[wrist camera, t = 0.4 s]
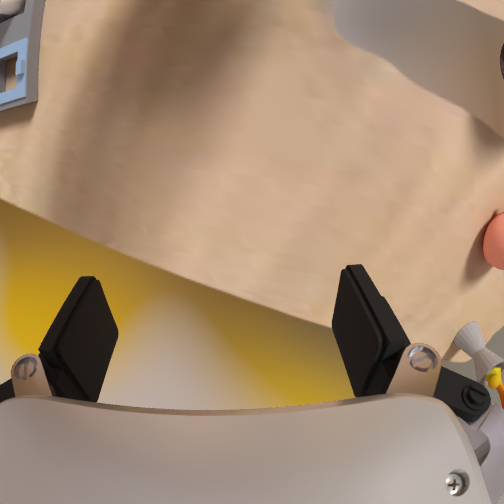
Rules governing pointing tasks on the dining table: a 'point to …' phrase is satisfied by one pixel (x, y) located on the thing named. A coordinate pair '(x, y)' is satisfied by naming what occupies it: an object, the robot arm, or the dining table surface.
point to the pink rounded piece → (495, 242)
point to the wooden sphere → (502, 60)
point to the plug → (12, 7)
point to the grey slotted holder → (21, 53)
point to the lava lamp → (481, 357)
